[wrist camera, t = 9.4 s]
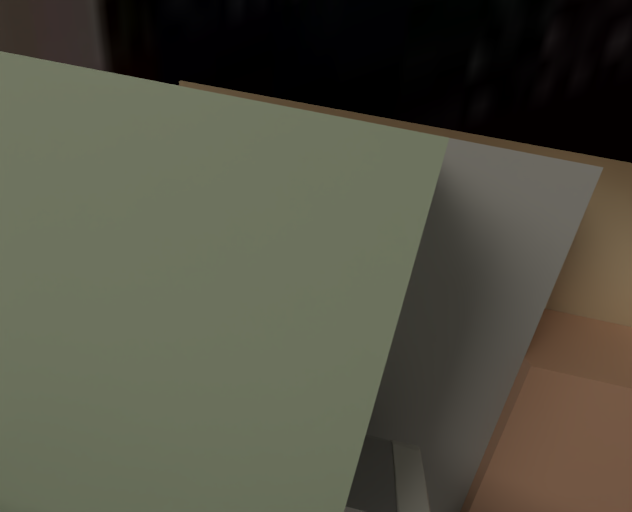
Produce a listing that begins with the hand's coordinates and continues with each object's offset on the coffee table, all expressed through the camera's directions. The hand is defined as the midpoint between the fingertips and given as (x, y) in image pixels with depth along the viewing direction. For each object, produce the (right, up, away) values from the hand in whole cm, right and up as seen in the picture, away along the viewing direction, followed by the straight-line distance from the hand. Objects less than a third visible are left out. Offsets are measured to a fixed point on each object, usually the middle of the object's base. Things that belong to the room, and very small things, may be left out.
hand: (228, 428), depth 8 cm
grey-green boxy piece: (+2, 0, +2) cm, 3 cm away
